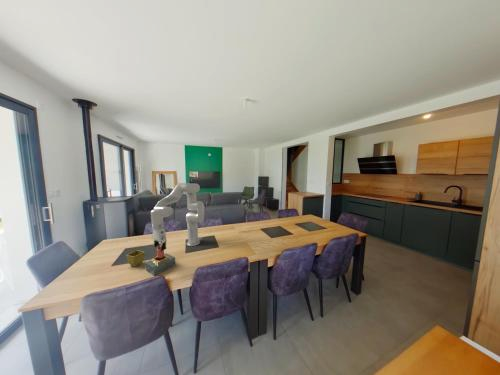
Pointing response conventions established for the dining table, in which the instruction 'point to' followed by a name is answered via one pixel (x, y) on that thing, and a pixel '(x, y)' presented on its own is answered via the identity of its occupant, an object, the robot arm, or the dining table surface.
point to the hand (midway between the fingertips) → (160, 247)
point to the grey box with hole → (160, 264)
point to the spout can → (160, 253)
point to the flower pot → (135, 257)
